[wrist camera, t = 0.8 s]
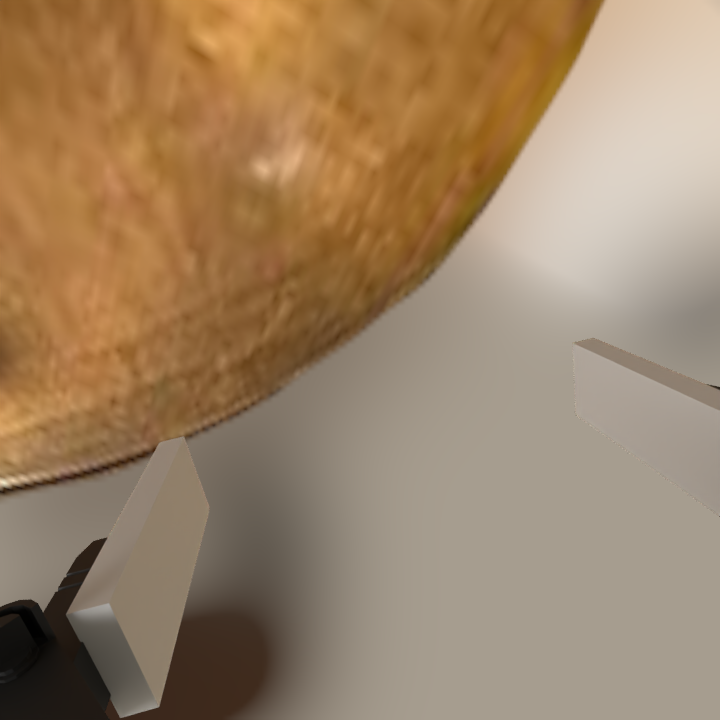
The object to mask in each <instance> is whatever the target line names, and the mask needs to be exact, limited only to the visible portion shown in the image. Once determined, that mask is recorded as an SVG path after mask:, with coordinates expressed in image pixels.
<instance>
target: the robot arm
mask: <svg viewBox="0 0 720 720" xmlns="http://www.w3.org/2000/svg"><path fill="white" fill-rule="evenodd" d="M572 345H573V366H574V367H573V368H574V389H575V412H576V416H577V417H579V418H580V419H582V420H583V421H584V422H586V423H587V424H589V425H590V426H592V427H593V428H594V429H596V430H597V431H599V432H600V433H601V434H603V435H604V436H606V437H607V438H609V439H610V440H611V441H613V442H614V443H616V444H617V445H618V446H620V447H621V448H623V449H624V450H626V451H627V452H628V453H630V454H631V455H633V456H634V457H636V458H637V459H638V460H640V461H641V462H643V463H644V464H646V465H647V466H648V467H650V468H651V469H652V470H654V471H655V472H657V473H658V474H660V475H661V476H662V477H664V478H665V479H667V480H668V481H669V482H671V483H672V484H674V485H675V486H677V487H678V488H679V489H681V490H682V491H684V492H685V493H686V494H688V495H689V496H691V497H692V498H694V499H695V500H696V501H698V502H699V503H701V504H702V505H703V506H705V507H706V508H708V509H709V510H711V511H712V512H713V513H715V514H716V515H718V516H719V517H720V387H717V386H712V385H708V384H704V383H701V382H699V381H697V380H694V379H692V378H689V377H687V376H684V375H682V374H680V373H677V372H675V371H672V370H670V369H668V368H665V367H663V366H660V365H658V364H656V363H653V362H651V361H648V360H646V359H643V358H641V357H638V356H636V355H634V354H631V353H629V352H626V351H624V350H622V349H619V348H617V347H614V346H612V345H610V344H607V343H605V342H602V341H600V340H597V339H595V338H591V339H587V340H582V341H579V342H574V343H572ZM209 509H210V508H209V505H208V502H207V499H206V496H205V494H204V491H203V488H202V485H201V483H200V480H199V477H198V475H197V472H196V469H195V466H194V463H193V460H192V457H191V455H190V452H189V449H188V446H187V444H186V441H185V438H184V437H180V438H176V439H172V440H168V441H164V442H160V443H159V444H158V446H157V448H156V450H155V452H154V454H153V455H152V457H151V459H150V461H149V463H148V465H147V466H146V468H145V470H144V472H143V474H142V476H141V477H140V479H139V481H138V483H137V485H136V487H135V488H134V490H133V492H132V494H131V496H130V498H129V499H128V501H127V503H126V505H125V507H124V509H123V510H122V512H121V514H120V516H119V518H118V520H117V522H116V523H115V525H114V527H113V529H112V531H111V532H110V534H109V536H108V538H104V539H100V540H96V541H93V542H92V543H91V544H90V545H89V546H88V547H87V548H86V549H85V550H84V551H83V552H82V553H81V554H80V555H79V556H78V557H77V558H76V559H75V561H74V563H73V564H72V566H71V568H70V569H69V571H68V573H67V577H65V578H64V579H63V581H62V582H61V584H60V586H59V588H58V592H55V594H54V596H53V598H52V599H51V601H50V602H49V604H48V606H47V608H46V609H45V611H44V612H42V610H41V608H40V606H39V605H38V603H36V602H34V601H33V600H18V601H15V602H12V603H9V604H6V605H4V606H2V607H0V720H110V719H109V718H108V716H107V715H106V713H105V710H106V707H107V705H108V702H109V699H111V701H112V703H113V705H114V707H115V709H116V710H117V712H118V714H119V716H120V718H122V717H126V716H129V715H132V714H136V713H139V712H143V711H146V710H150V709H153V708H157V707H159V705H160V701H161V697H162V693H163V689H164V685H165V682H166V678H167V674H168V670H169V666H170V661H171V658H172V654H173V650H174V646H175V643H176V639H177V635H178V631H179V626H180V623H181V619H182V615H183V611H184V607H185V603H186V599H187V596H188V592H189V588H190V584H191V580H192V576H193V572H194V568H195V564H196V560H197V557H198V553H199V549H200V544H201V540H202V537H203V533H204V529H205V525H206V521H207V517H208V514H209Z"/></svg>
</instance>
